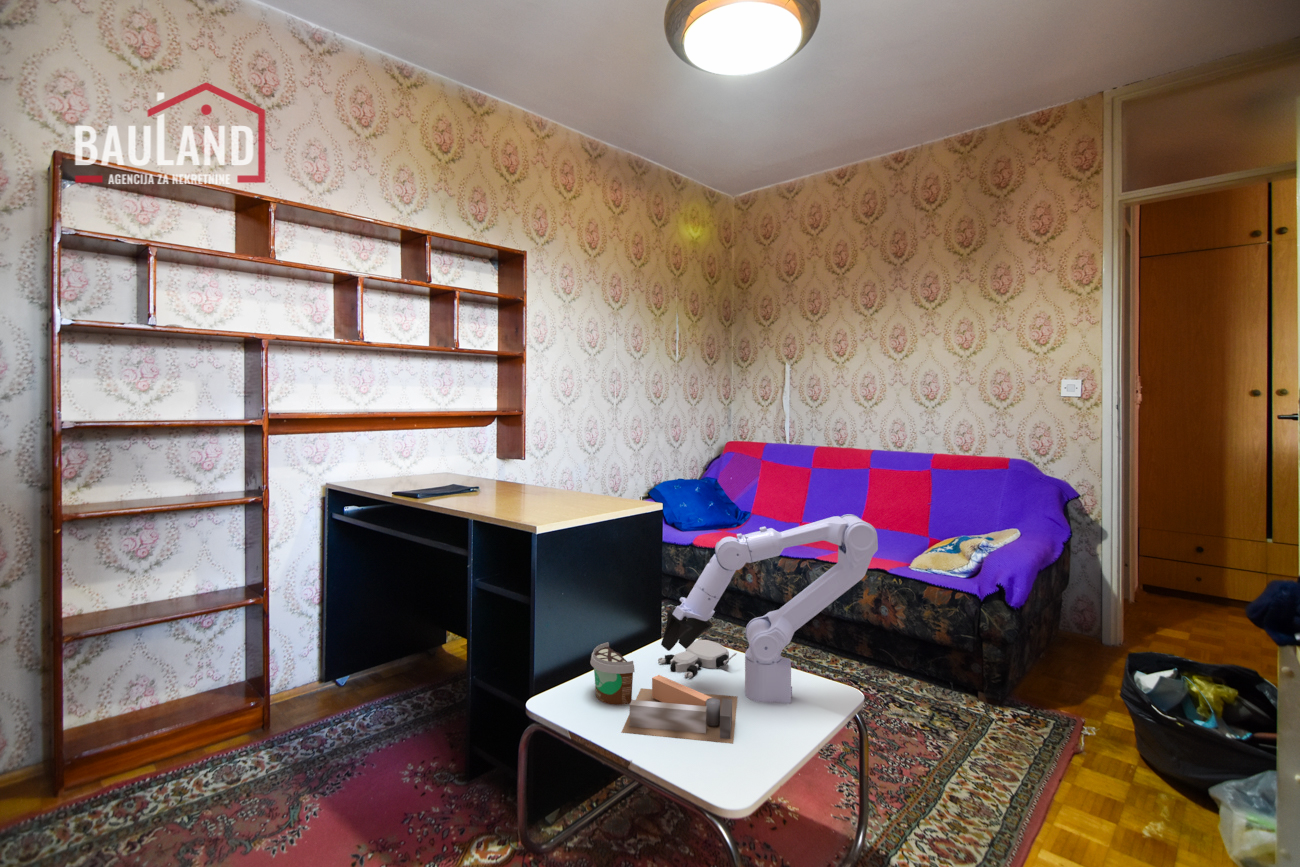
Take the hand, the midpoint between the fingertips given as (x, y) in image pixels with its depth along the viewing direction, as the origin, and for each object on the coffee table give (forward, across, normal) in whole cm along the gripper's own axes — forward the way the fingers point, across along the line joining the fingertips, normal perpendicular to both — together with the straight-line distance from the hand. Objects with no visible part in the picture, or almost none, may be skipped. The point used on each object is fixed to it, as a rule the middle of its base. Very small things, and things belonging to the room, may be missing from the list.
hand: (674, 646), depth 126 cm
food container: (+16, +6, -4) cm, 18 cm away
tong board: (+8, +4, +11) cm, 14 cm away
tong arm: (+7, +3, +10) cm, 12 cm away
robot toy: (+7, -18, +1) cm, 19 cm away
